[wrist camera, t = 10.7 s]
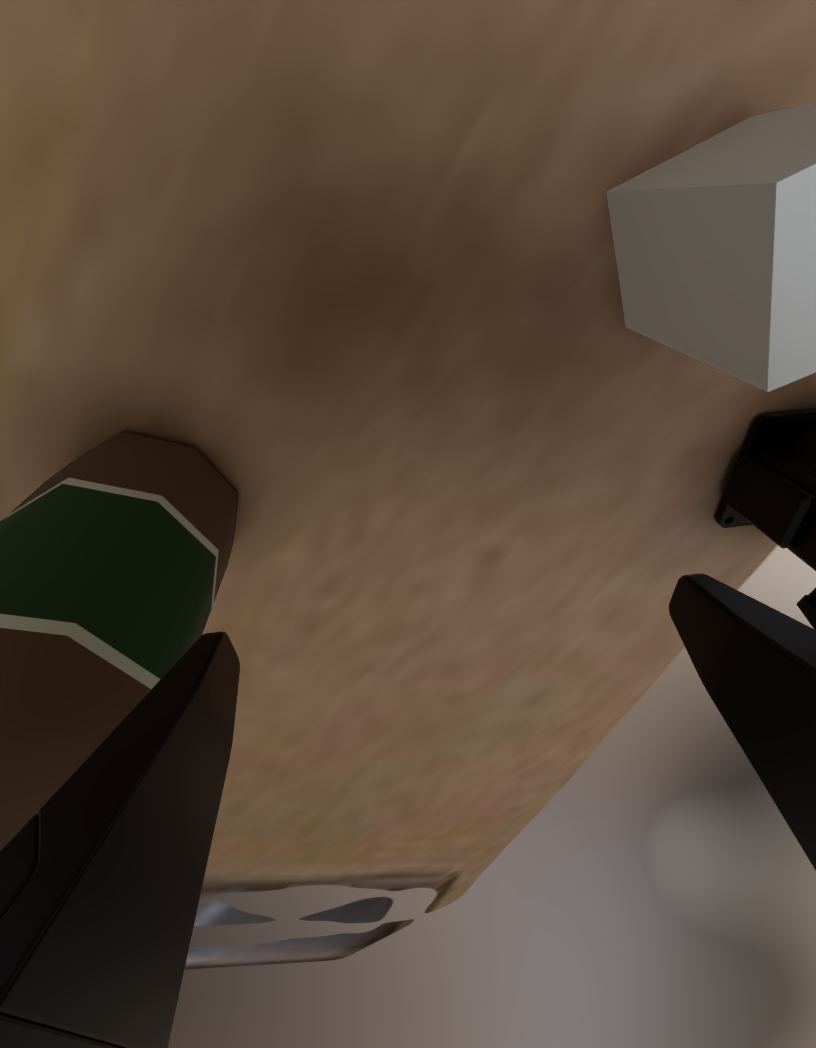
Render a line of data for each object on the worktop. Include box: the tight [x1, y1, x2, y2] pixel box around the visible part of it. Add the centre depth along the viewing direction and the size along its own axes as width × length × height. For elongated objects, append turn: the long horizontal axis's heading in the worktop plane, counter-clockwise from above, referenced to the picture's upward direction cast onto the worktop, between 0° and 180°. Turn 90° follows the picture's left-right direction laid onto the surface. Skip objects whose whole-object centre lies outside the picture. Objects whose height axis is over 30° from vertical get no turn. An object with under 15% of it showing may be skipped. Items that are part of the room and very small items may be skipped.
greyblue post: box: [606, 102, 816, 392], centre depth 14 cm, size 5×5×8 cm
